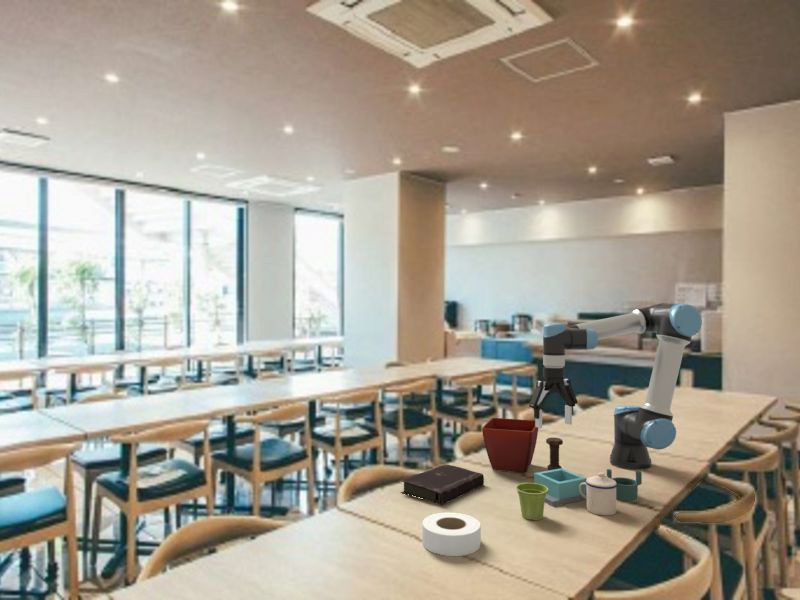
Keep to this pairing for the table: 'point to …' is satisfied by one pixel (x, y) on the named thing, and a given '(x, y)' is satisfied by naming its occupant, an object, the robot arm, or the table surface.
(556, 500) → the socket
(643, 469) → the robot arm
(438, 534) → the roll of tape
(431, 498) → the diary
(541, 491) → the plant pot
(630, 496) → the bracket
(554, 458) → the bolt
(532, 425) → the plant pot
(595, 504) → the teacup with lid
